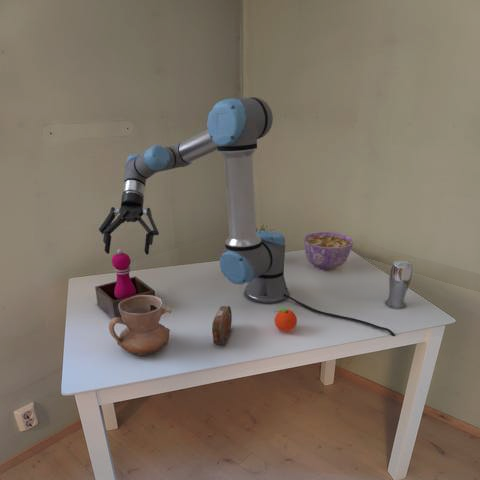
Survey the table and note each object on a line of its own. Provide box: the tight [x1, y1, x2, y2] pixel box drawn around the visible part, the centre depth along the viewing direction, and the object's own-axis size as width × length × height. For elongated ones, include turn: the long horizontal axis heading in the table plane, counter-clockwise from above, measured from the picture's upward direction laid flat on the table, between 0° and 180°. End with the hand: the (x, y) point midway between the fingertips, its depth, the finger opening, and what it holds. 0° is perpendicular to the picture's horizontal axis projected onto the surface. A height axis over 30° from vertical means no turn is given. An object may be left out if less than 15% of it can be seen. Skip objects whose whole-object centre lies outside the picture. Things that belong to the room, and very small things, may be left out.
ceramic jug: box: [108, 295, 172, 356], centre depth 130 cm, size 18×14×14 cm
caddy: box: [94, 276, 158, 320], centre depth 154 cm, size 15×15×7 cm
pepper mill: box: [111, 248, 136, 300], centre depth 151 cm, size 7×7×20 cm
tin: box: [211, 305, 233, 346], centre depth 137 cm, size 15×3×8 cm, turn 168°
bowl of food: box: [303, 231, 354, 271], centre depth 186 cm, size 20×20×12 cm
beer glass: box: [385, 260, 414, 309], centre depth 154 cm, size 7×7×15 cm
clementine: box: [274, 308, 298, 333], centre depth 141 cm, size 8×7×7 cm
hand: (126, 252), depth 153 cm, fingers open, 13 cm apart
